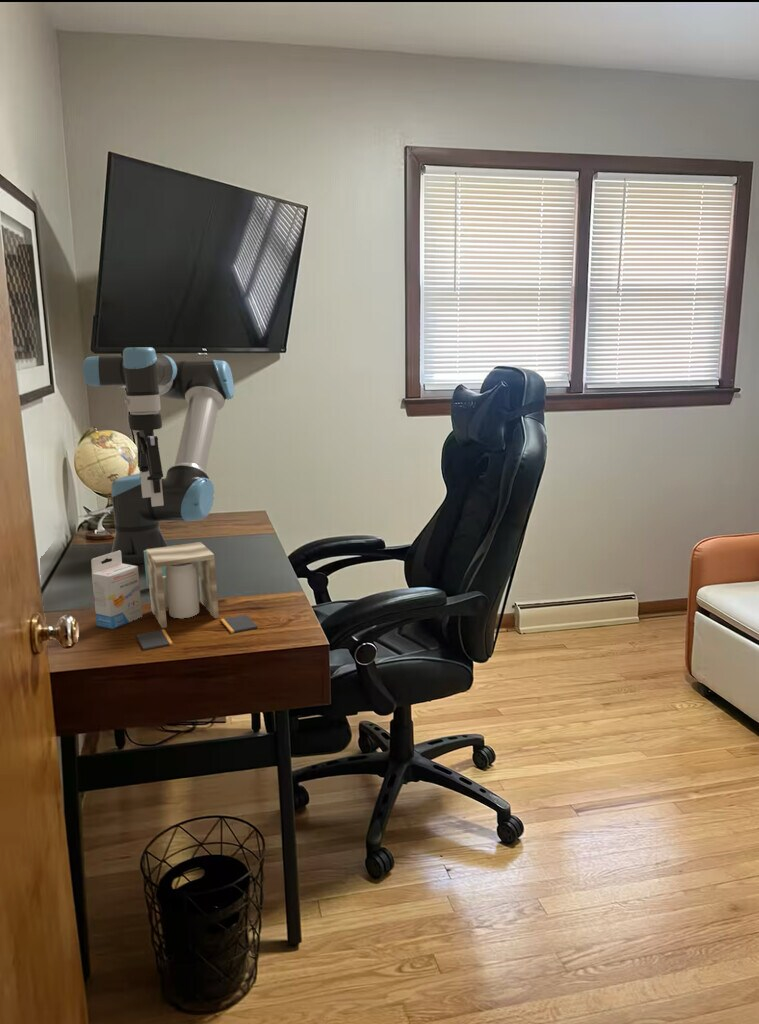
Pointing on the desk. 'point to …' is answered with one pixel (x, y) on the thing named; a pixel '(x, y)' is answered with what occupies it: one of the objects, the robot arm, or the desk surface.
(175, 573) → the can
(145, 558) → the slider
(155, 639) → the mats
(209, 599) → the tunnel
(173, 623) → the desk surface
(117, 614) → the ink box
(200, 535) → the desk surface
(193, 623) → the desk surface
